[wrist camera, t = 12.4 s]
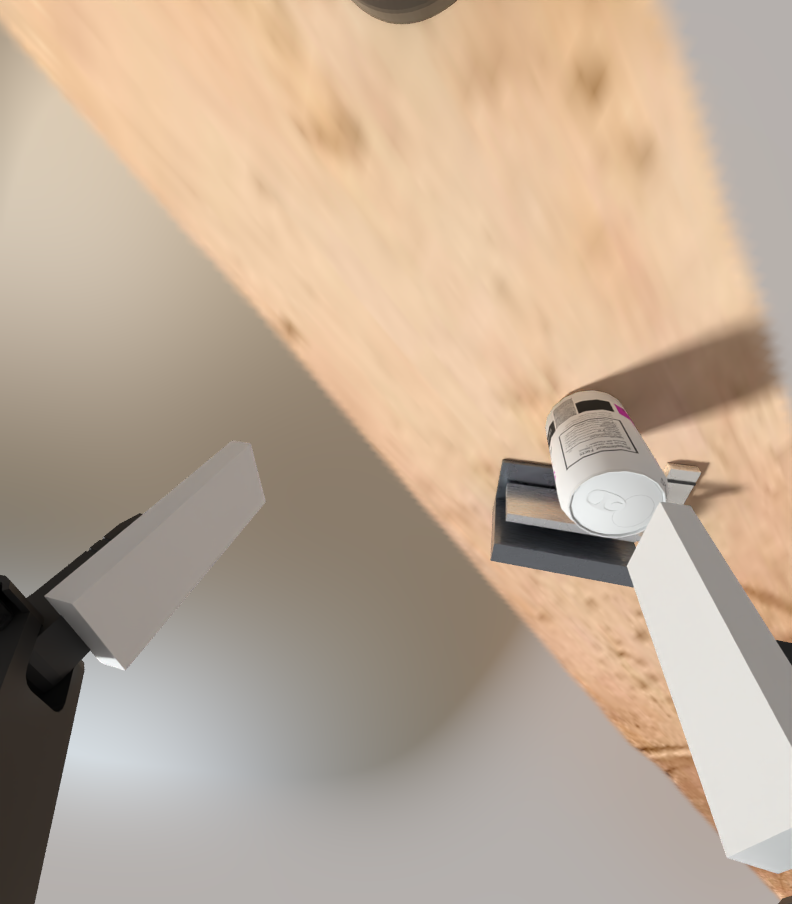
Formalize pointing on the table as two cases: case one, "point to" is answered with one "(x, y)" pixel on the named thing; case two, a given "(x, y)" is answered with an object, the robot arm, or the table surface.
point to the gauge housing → (565, 547)
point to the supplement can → (603, 466)
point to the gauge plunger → (543, 510)
